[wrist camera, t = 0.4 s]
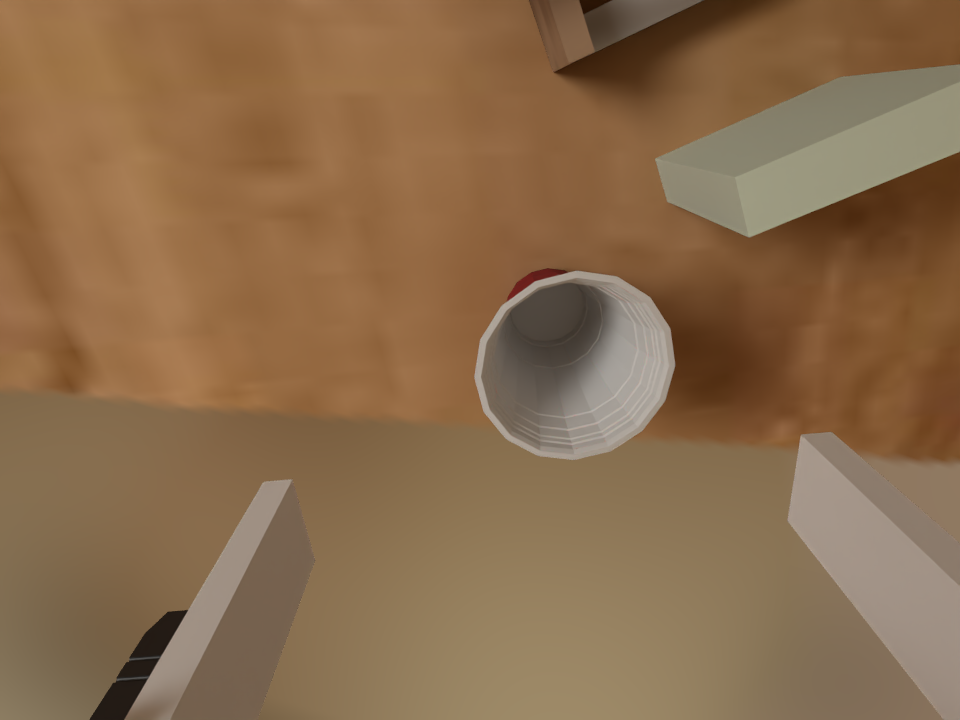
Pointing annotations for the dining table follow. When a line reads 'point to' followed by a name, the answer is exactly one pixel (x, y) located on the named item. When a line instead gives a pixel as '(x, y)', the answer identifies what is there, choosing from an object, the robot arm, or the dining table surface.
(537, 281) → the plastic cup
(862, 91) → the door panel
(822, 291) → the dining table surface
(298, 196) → the dining table surface
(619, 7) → the track
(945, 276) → the dining table surface
